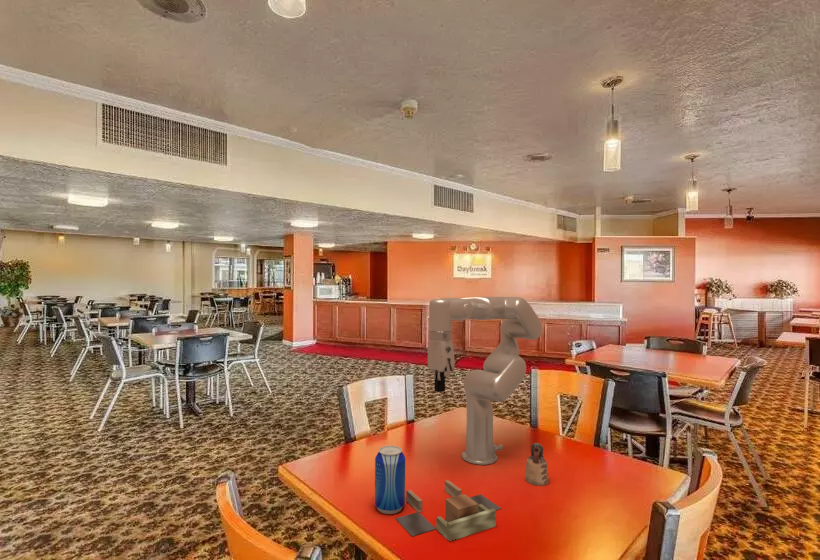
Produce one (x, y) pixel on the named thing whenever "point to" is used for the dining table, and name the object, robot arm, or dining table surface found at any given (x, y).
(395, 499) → the beer can
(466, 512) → the walnut block
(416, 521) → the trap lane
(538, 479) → the figurine
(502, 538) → the dining table surface
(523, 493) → the dining table surface
